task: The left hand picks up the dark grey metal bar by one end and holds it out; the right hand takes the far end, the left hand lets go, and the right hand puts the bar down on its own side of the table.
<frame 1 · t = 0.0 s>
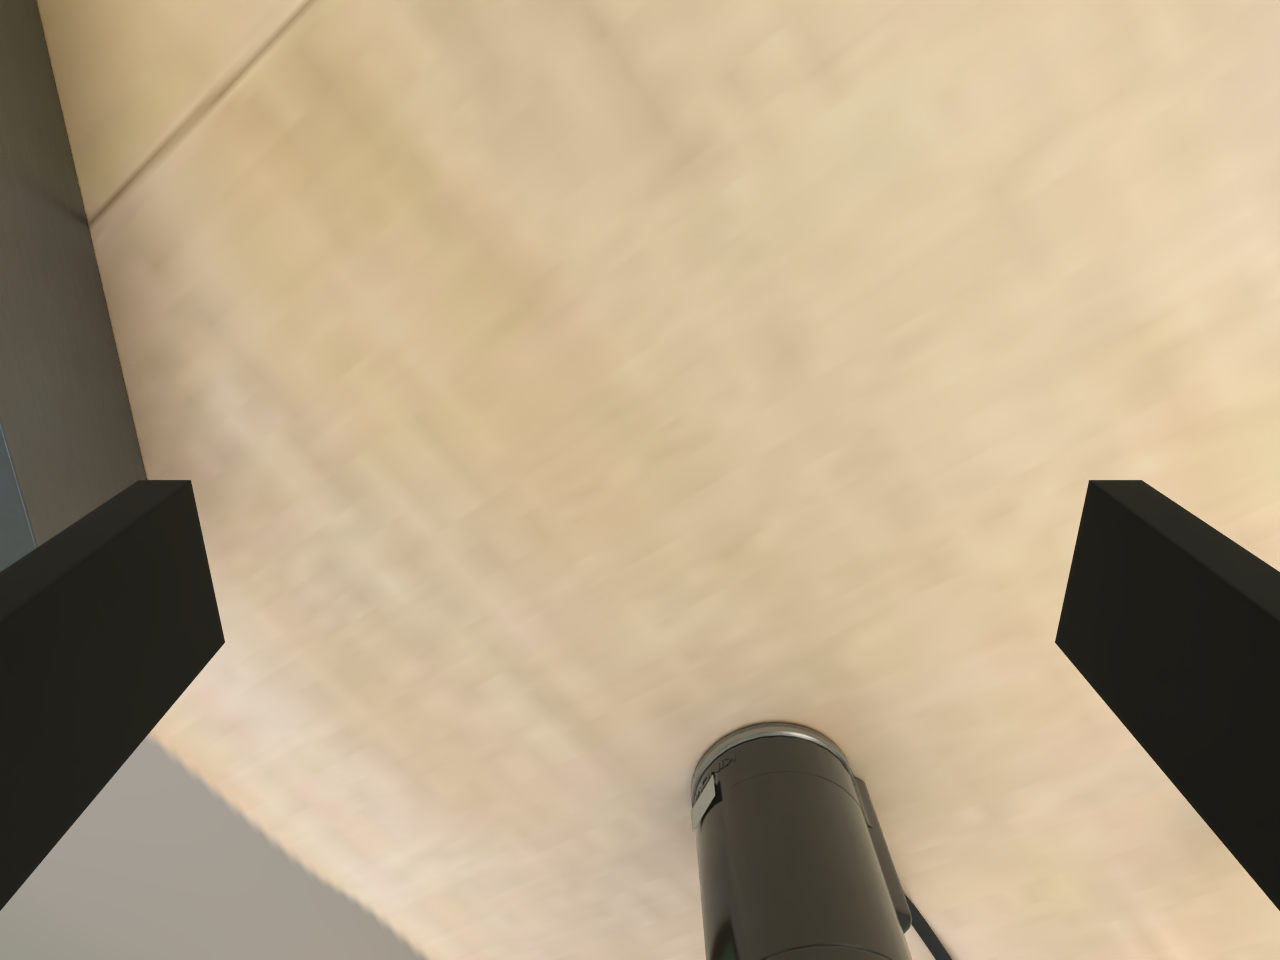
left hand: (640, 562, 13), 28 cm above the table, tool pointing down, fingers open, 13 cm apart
bar: (44, 251, 38), on the table
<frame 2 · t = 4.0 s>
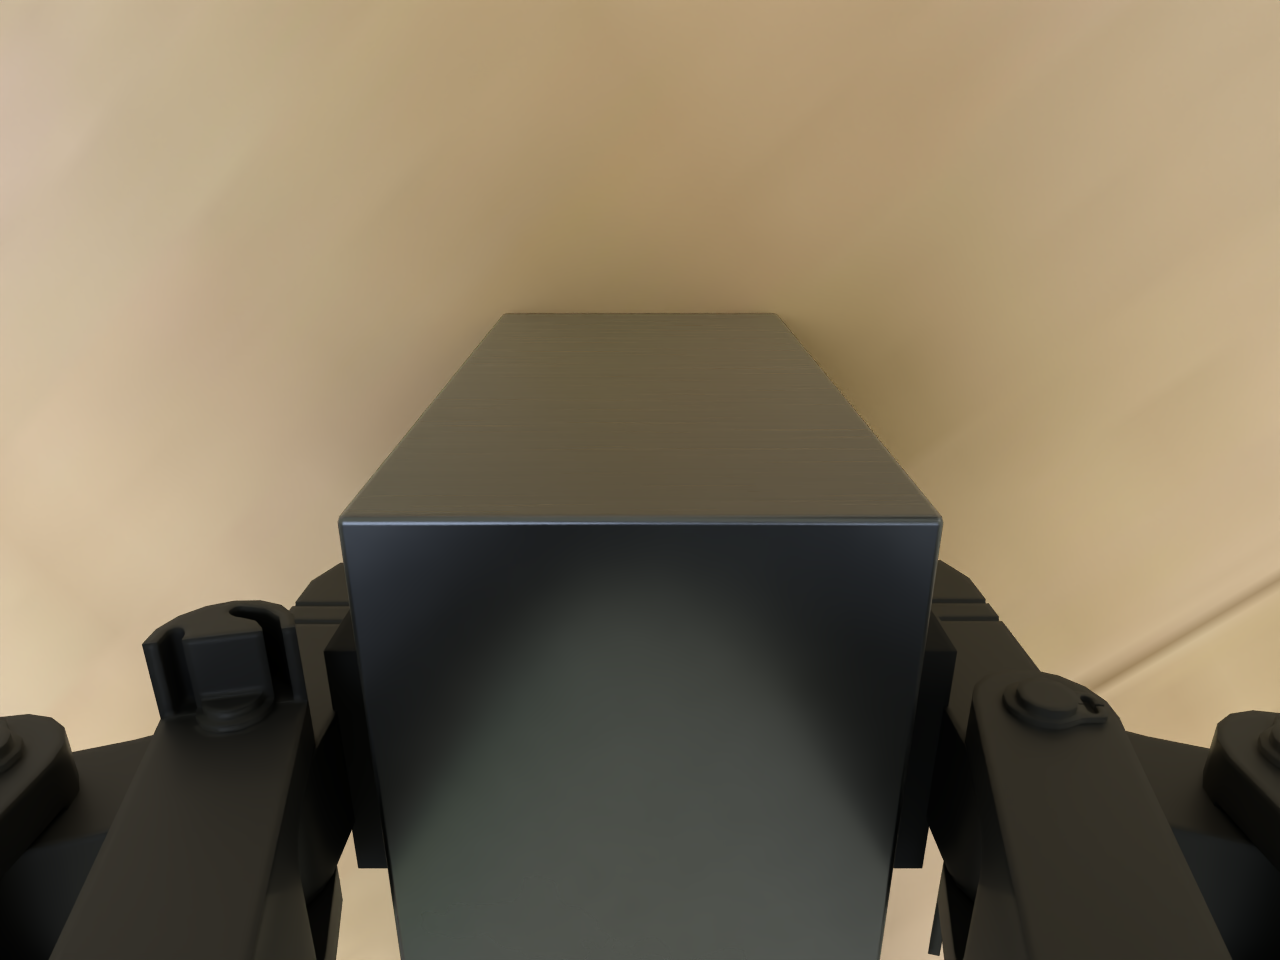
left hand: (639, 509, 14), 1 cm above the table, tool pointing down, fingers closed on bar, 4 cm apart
bar: (640, 925, 19), on the table, touching left hand
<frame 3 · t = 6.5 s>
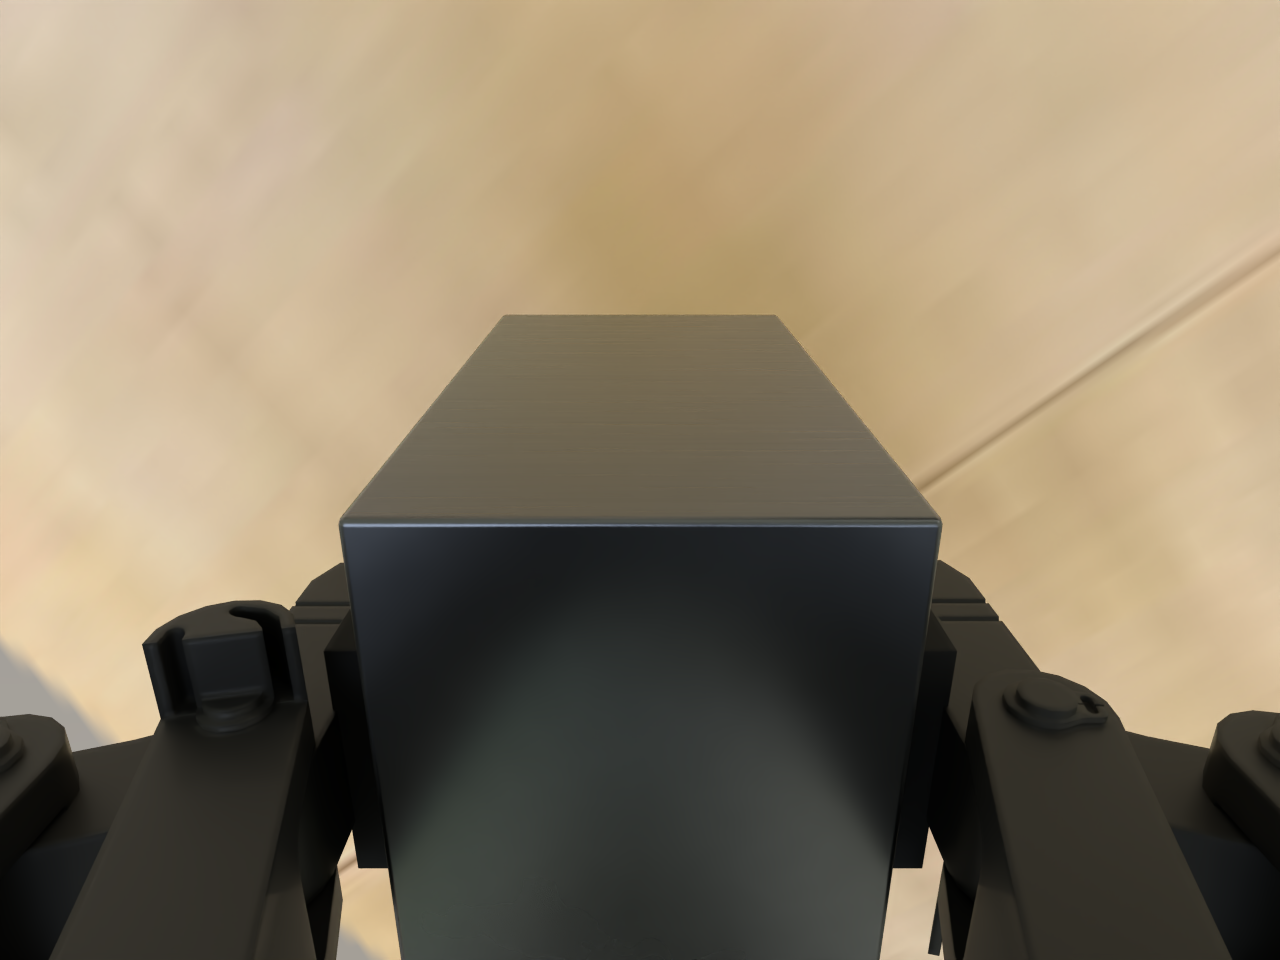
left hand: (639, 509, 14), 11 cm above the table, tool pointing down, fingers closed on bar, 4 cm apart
bar: (640, 925, 19), point 11 cm above the table, touching left hand
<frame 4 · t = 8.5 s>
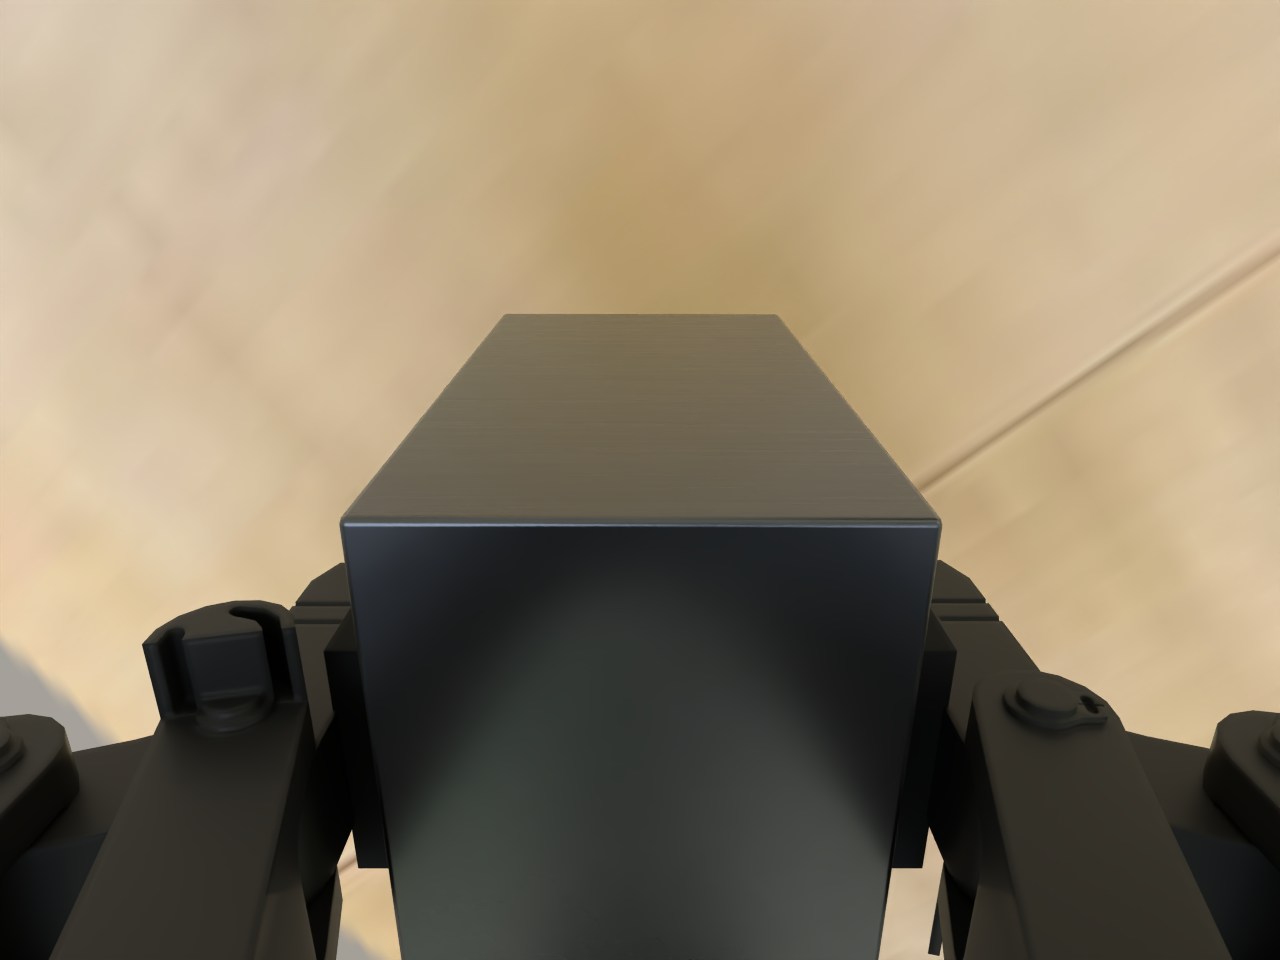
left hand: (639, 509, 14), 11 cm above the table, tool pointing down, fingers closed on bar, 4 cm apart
bar: (639, 924, 19), point 11 cm above the table, touching left hand, right hand
when the left hand's fingers open (11 cm above the table, at t = 9.2 s): bar stays where it is, held by the right hand.
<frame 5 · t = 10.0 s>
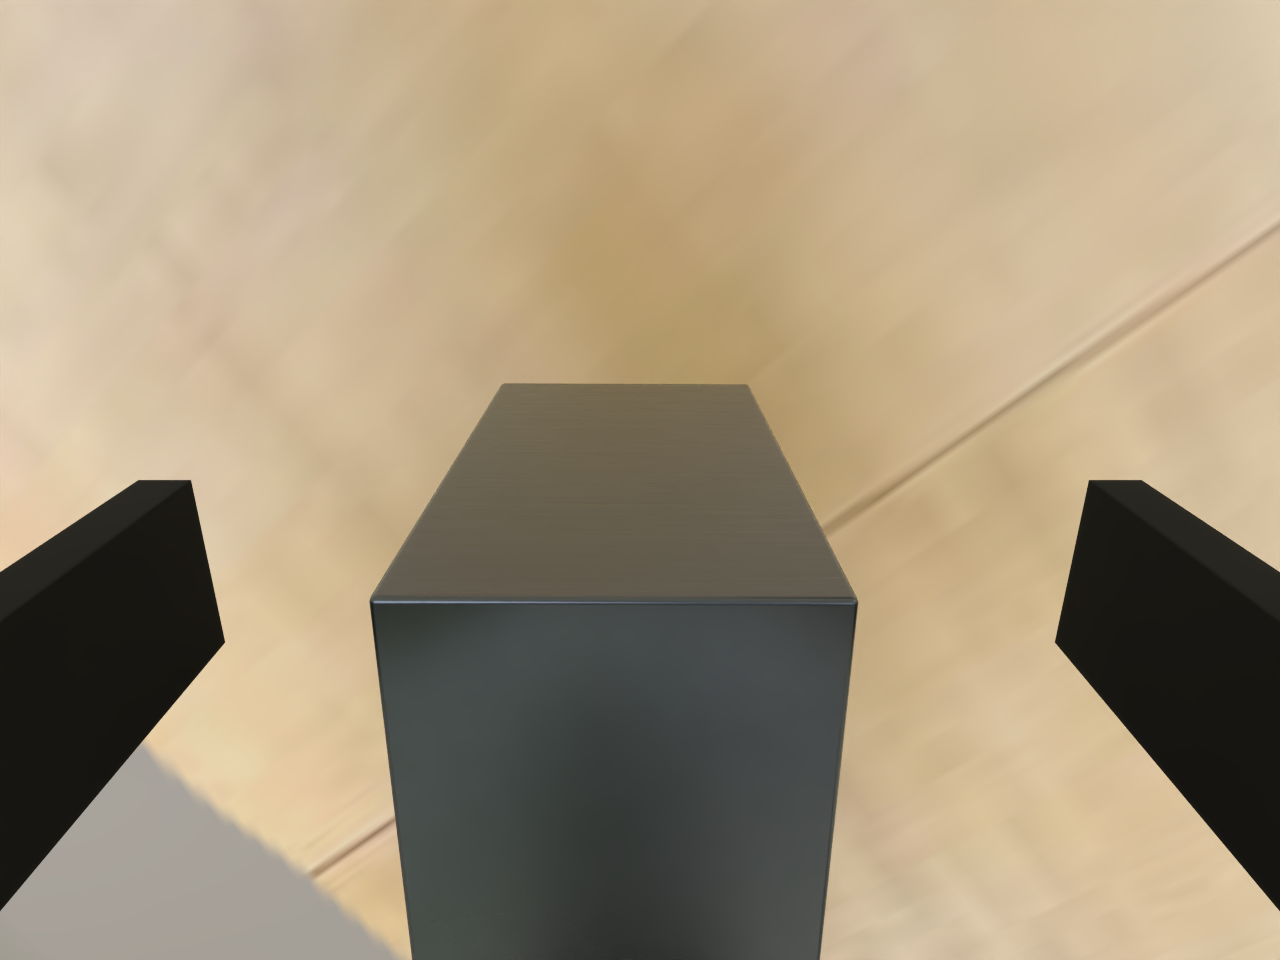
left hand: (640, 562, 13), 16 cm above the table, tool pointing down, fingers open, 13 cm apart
bar: (625, 941, 20), point 12 cm above the table, touching right hand
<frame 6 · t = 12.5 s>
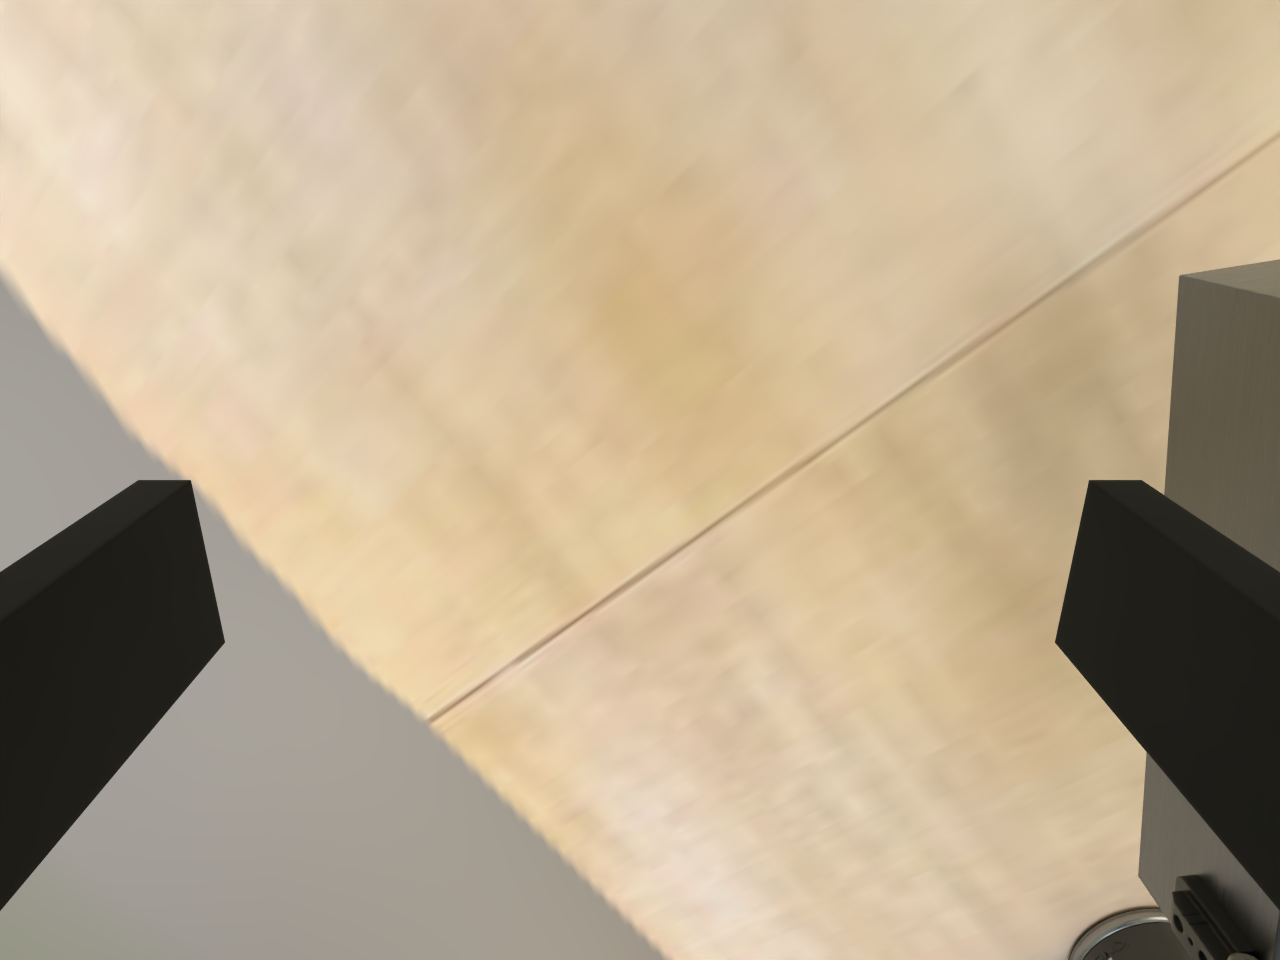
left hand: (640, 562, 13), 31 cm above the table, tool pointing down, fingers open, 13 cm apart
bar: (1213, 611, 34), point 13 cm above the table, touching right hand
when the right hand's fingers open (5 cm above the table, at t = 16.7 s): bar drops 1 cm, on the table.
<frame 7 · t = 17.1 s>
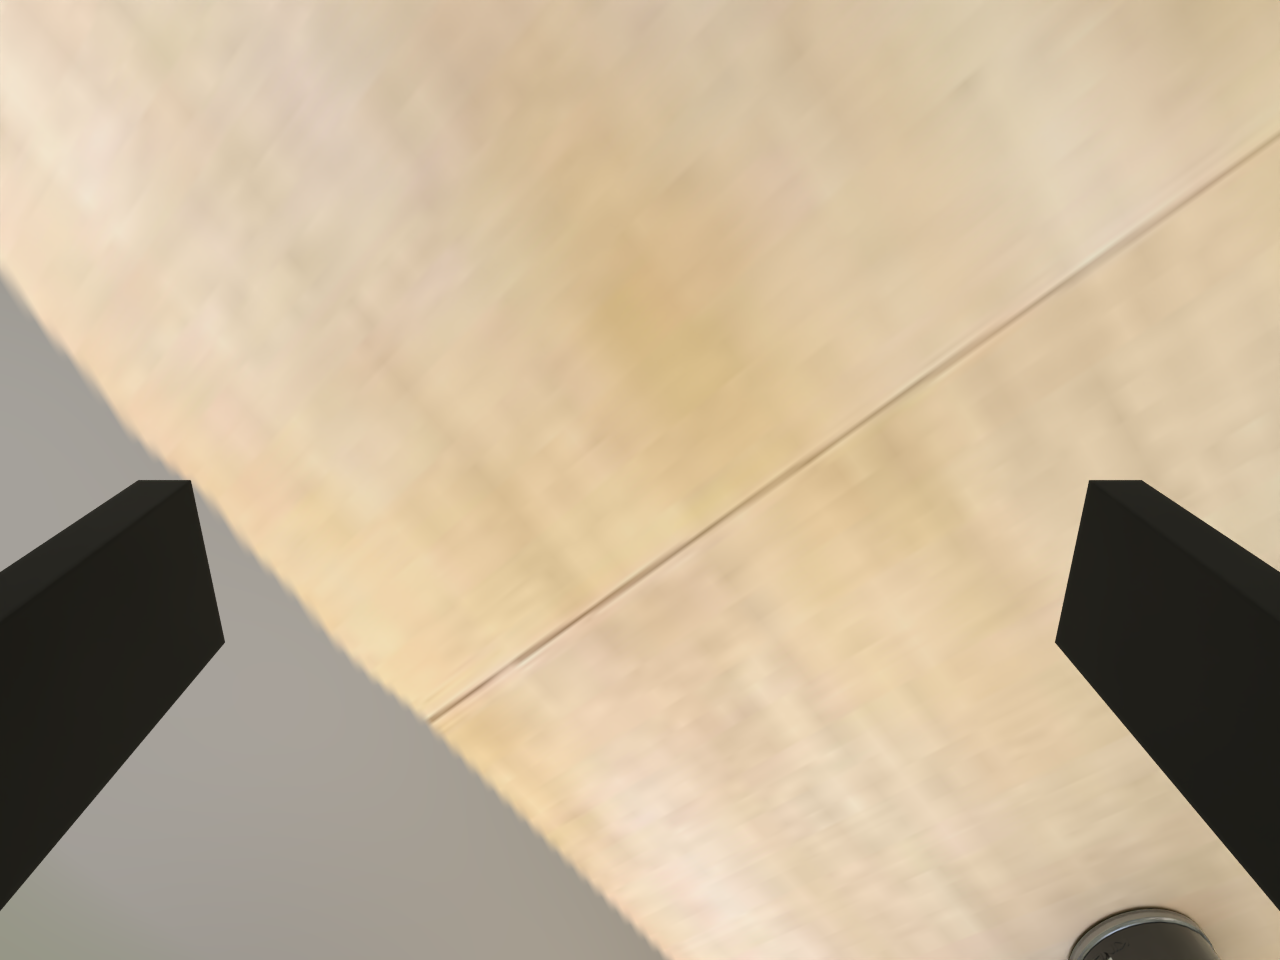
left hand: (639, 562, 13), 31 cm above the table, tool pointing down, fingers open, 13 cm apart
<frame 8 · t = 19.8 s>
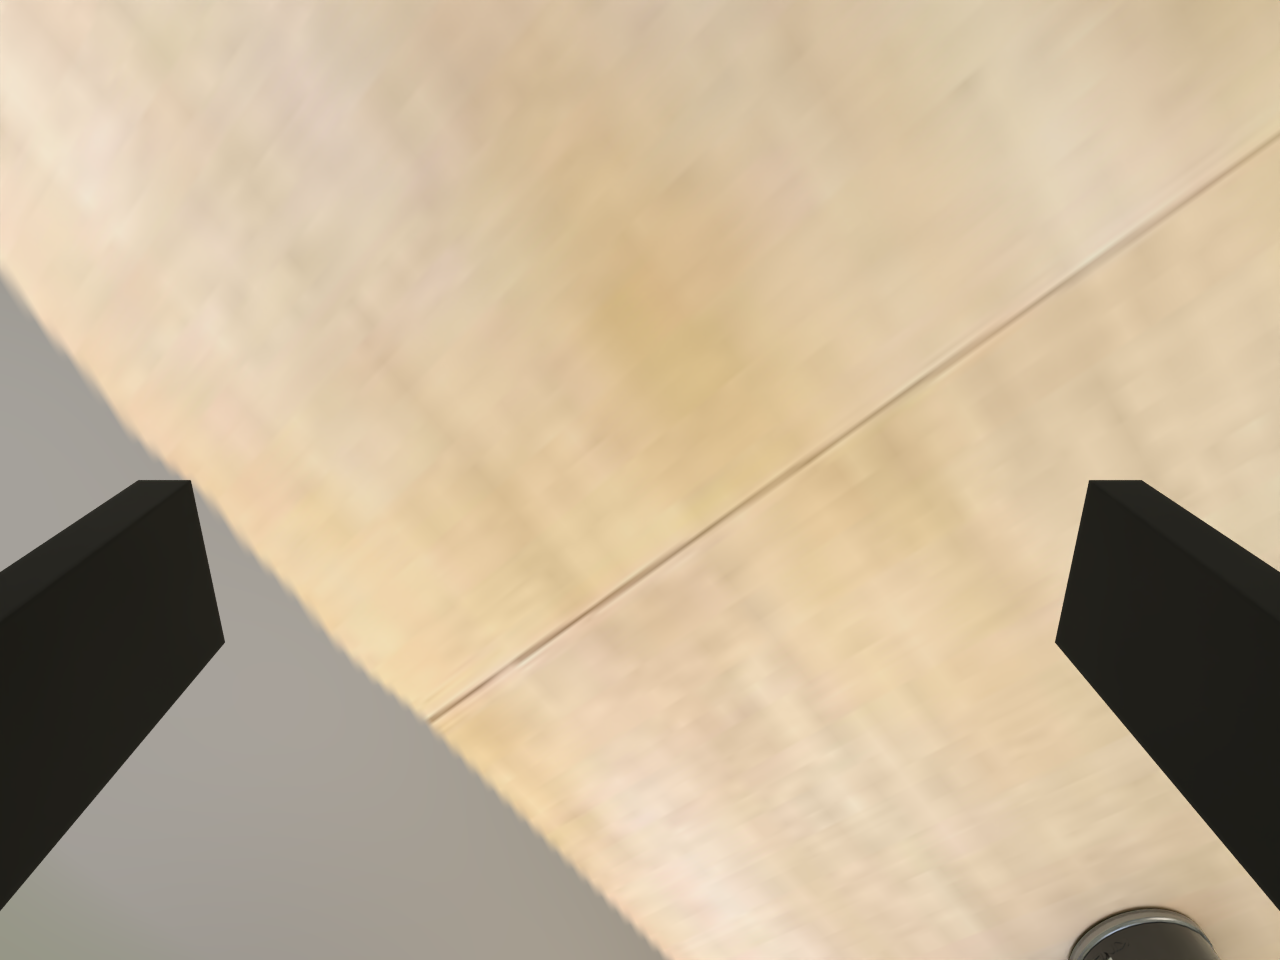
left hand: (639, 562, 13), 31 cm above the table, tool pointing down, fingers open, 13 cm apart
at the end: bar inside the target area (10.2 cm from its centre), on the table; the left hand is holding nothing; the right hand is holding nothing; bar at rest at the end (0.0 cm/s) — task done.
